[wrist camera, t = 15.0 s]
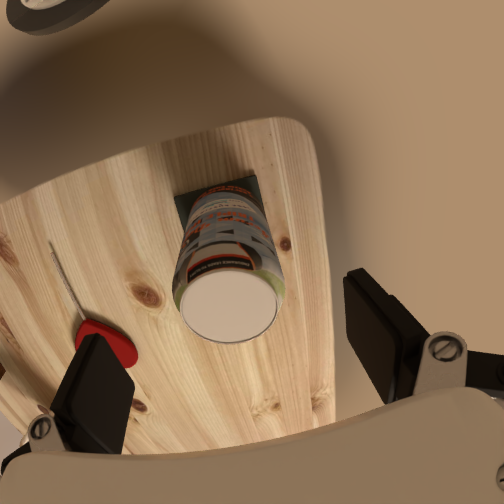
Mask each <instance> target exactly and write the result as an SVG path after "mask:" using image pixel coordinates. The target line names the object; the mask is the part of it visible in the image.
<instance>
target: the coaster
mask: <svg viewBox="0 0 504 504" xmlns="http://www.w3.org/2000/svg"><path fill="white" fill-rule="evenodd" d="M220 185H236V186H239V187H242V188H245V189H247V190H248V191H250V192H251V193H253V194H254V195H255V196H256V197H257V198H258V200H259V201H260V203H261V205H262V207H263V202H262V198H261V194H260V189H259V185H258V181H257V177H256V175H253V176H249V177H245V178H241V179H237V180H233V181H229V182H225V183H221V184H218V185H214V186H210V187H207V188H203V189H199V190H196V191H192V192H189V193H185V194H182V195H178V196H175V197H174V201H175V204H176V207H177V211H178V214H179V217H180V220H181V223H182V227H183V230H184V233H185V230H186V226H187V222H188V219H189V215H190V212H191V209H192V206H193V204H194V202H195V201H196V199H197V198H198V197H199V196H200V195H201V194H202V193H204V192H205V191H207V190H208V189H210V188H213V187H215V186H220ZM263 210H264V207H263ZM264 213H265V211H264ZM265 216H266V215H265Z"/></svg>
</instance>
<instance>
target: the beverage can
mask: <svg viewBox="0 0 504 504" xmlns="http://www.w3.org/2000/svg"><path fill="white" fill-rule="evenodd" d="M172 294H173V299H174V302H175V305H176V307H177V309H178V311H179V312H180V314H181V317H182V320H183V322H184V323H185V325H186V326H187V327H188V328H189V330H190V331H191V332H193V333H194V334H195V335H197V336H198V337H200V338H202V339H204V340H207V341H210V342H213V343H218V344H239V343H244V342H248V341H251V340H253V339H255V338H257V337H259V336H261V335H262V334H264V333H265V332H266V331H267V330H268V329H269V328H270V327H271V326H272V325H273V323H274V322H275V320H276V318H277V315H278V311H279V309H280V307H281V306H282V303H283V300H284V296H285V280H284V276H283V273H282V269H281V266H280V262H279V259H278V256H277V252H276V249H275V246H274V242H273V239H272V236H271V232H270V229H269V226H268V222H267V219H266V216H265V213H264V210H263V207H262V205H261V203H260V201H259V200H258V198H257V197H256V196H255V195H254V194H253V193H251V192H250V191H248V190H247V189H245V188H242V187H239V186H236V185H220V186H215V187H213V188H210V189H208V190H207V191H205V192H204V193H202V194H201V195H200V196H199V197H198V198H197V199H196V201H195V202H194V204H193V206H192V209H191V212H190V215H189V219H188V222H187V226H186V230H185V234H184V237H183V241H182V245H181V249H180V253H179V257H178V261H177V265H176V269H175V273H174V277H173V282H172Z"/></svg>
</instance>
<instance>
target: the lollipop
mask: <svg viewBox="0 0 504 504" xmlns="http://www.w3.org/2000/svg"><path fill="white" fill-rule="evenodd" d="M50 254H51V256H52V258H53V261H54V263H55V265H56V267H57V269H58V272H59V274H60V276H61V278H62V280H63V282H64V284H65V286H66V288H67V290H68V292H69V294H70V296H71V298H72V300H73V302H74V304H75V306H76V308H77V309H78V311H79V313H80V315H81V317H82V319H83V322H82V323H81V325H80V327H79V329H78V332H77V335H76V339H75V350H76V351H77V349H78V347H79V345H80V343H81V342H82V340H83V338H84V336H85V335H88V334H93V333H99V334H100V335H101V336H104V337H105V338H106V340H107V342H108V343H109V345H110V347H111V348H112V350H113V351H114V353H115V355H116V356H117V358H118V359H119V361H120V362H121V364H122V366H123V367H124V368H130V367H132V366H133V365H135V364H136V362H137V360H138V353H137V350H136V348H135V346H134V345H133V343H132V342H131V341H130V340H128V339H127V338H126V337H125V336H123V335H122V334H121V333H119V332H117V331H115V330H114V329H112V328H110V327H108V326H106V325H103V324H101V323H99V322H96V321H93V320H91V319H88V318H85V316H84V314H83V312H82V310H81V308H80V307H79V305H78V303H77V301H76V299H75V297H74V295H73V293H72V291H71V289H70V287H69V285H68V283H67V281H66V279H65V277H64V275H63V273H62V270H61V268H60V266H59V264H58V262H57V259H56V257H55V255H54V252H52V253H50Z"/></svg>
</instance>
